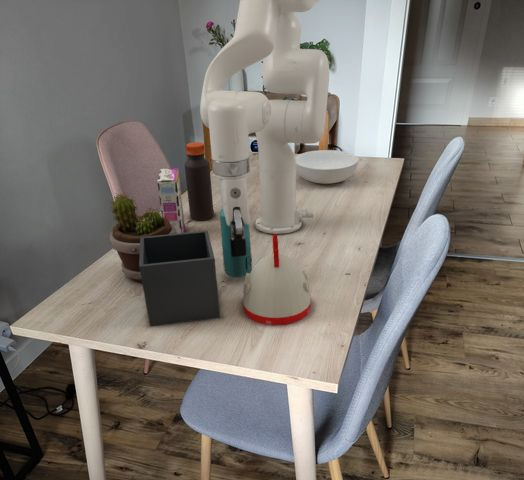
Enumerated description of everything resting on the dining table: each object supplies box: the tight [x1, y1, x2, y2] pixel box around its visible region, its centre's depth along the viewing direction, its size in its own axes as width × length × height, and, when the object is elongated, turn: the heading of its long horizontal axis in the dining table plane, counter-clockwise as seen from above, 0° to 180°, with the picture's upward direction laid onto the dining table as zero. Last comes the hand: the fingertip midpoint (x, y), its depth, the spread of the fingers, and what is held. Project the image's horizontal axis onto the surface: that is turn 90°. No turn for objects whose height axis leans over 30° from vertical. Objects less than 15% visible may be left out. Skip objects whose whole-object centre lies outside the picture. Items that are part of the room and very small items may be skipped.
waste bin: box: [139, 230, 221, 327], centre depth 109 cm, size 14×14×13 cm
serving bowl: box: [295, 149, 359, 185], centre depth 175 cm, size 21×21×7 cm
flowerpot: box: [108, 189, 176, 284], centre depth 119 cm, size 14×15×20 cm
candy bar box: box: [156, 167, 186, 234], centre depth 138 cm, size 11×5×16 cm, turn 5°
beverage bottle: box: [218, 192, 253, 279], centre depth 116 cm, size 6×7×20 cm
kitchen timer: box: [242, 234, 312, 326], centre depth 106 cm, size 14×14×15 cm
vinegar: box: [184, 141, 215, 222], centre depth 148 cm, size 7×7×20 cm
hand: (236, 248), depth 118 cm, fingers closed on beverage bottle, 6 cm apart
